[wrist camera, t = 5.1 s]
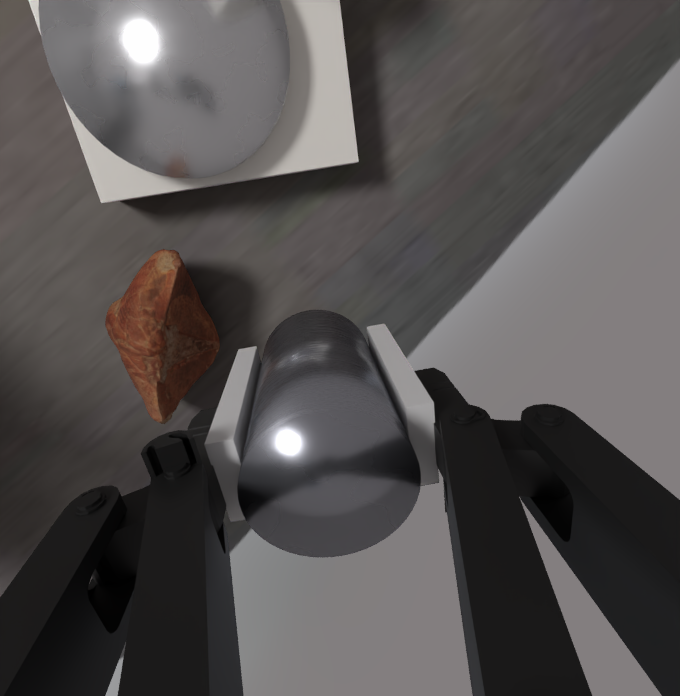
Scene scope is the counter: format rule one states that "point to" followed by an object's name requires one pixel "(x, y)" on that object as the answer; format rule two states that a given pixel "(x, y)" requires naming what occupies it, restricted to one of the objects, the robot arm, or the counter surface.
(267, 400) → the metal cylinder
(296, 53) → the scale
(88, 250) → the counter surface
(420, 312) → the counter surface
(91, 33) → the pan
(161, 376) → the brown lumpy chunk
